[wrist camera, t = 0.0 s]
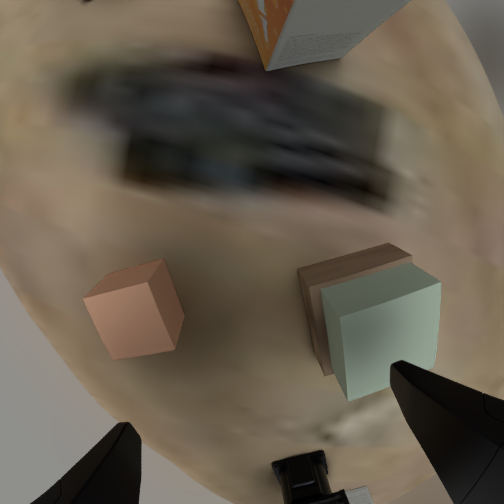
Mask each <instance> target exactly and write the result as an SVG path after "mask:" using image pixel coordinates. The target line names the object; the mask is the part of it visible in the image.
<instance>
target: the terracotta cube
mask: <svg viewBox="0 0 504 504" xmlns="http://www.w3.org/2000/svg"><path fill="white" fill-rule="evenodd" d="M83 300H84V303H85V305H86V307H87V309H88V312H89V314H90V316H91V318H92V320H93V322H94V325H95V327H96V329H97V331H98V333H99V335H100V337H101V339H102V341H103V343H104V345H105V347H106V349H107V351H108V352H109V354H110V356H111V358H112V360H113V361H114V360H120V359H127V358H133V357H139V356H145V355H150V354H156V353H162V352H167V351H172V350H175V349H176V346H177V342H178V339H179V335H180V331H181V328H182V324H183V321H184V317H185V315H184V312H183V310H182V307H181V304H180V302H179V299H178V296H177V294H176V291H175V288H174V285H173V283H172V280H171V277H170V274H169V271H168V268H167V265H166V262H165V260H164V258H163V259H160V260H156V261H152V262H149V263H145V264H142V265H138V266H134V267H131V268H127V269H124V270H120V271H117V272H113V273H110V274H108V275H107V276H106V277H105V278H104V279H103V280H101V281H100V282H99V283H98V284H97V285H96V286H95V287H94V288H93V289H92V290H91V291H90V292H89V293H88V294H87V295H86V296H85V297H84V298H83Z"/></svg>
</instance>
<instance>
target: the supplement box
mask: <svg viewBox="0 0 504 504" xmlns="http://www.w3.org/2000/svg"><path fill="white" fill-rule="evenodd" d="M345 493H346V496H347V498H348V501H349V503H350V504H374V502H373V500H372V498H371V495H370V493H369V490H368V488H367V487H361V488H357V489H353V490H348V491H345Z"/></svg>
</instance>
